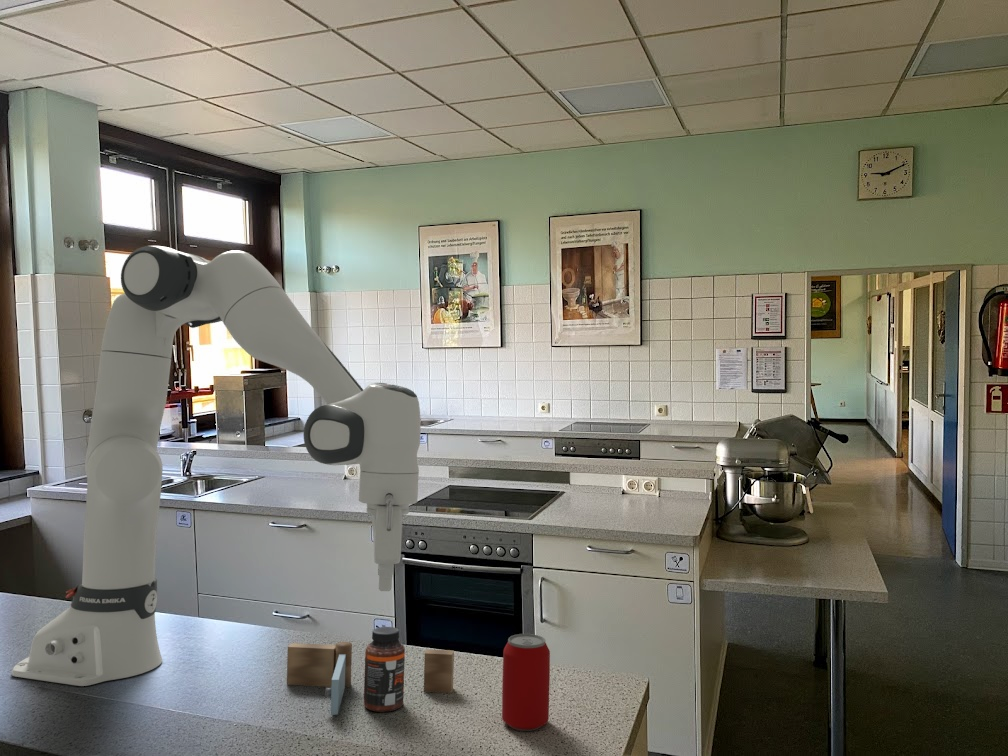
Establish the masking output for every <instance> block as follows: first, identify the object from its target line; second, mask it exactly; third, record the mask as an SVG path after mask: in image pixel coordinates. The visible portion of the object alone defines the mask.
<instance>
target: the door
mask: <svg viewBox="0 0 1008 756" xmlns="http://www.w3.org/2000/svg"><path fill="white" fill-rule="evenodd" d="M345 663H346V654H339V657H338V660H337V664H336V667H335V670H334V674H333V677H332V686H331V687H325V693H324V695H325V697H326V698H327V697H330V716H332V715H333V716H337V715H339V711H340V708H341V703H342V699H343V694H344V691H345V689H346V688H345Z"/></svg>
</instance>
